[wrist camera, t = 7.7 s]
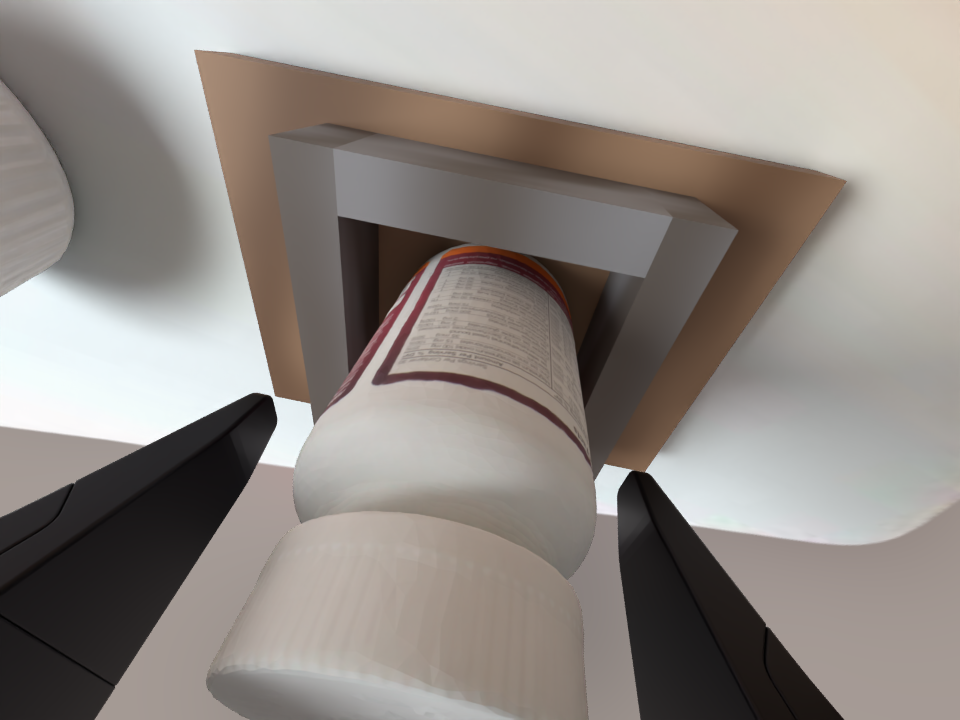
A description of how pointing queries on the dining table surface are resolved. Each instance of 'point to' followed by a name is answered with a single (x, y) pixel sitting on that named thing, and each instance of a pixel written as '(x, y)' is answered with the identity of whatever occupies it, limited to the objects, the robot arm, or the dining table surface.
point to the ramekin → (29, 197)
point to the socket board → (498, 232)
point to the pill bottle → (434, 519)
